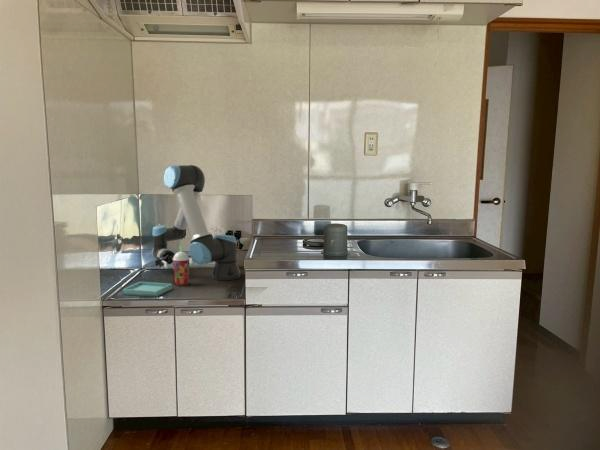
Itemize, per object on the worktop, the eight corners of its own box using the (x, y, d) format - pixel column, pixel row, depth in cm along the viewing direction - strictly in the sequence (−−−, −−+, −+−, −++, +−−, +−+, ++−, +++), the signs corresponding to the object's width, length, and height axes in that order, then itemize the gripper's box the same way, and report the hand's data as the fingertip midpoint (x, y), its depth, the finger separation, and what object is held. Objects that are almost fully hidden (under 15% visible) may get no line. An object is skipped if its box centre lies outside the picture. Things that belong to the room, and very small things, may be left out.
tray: (172, 288, 226) (171, 283, 226) (156, 296, 213) (156, 291, 212) (140, 286, 231) (140, 281, 231) (123, 294, 217) (122, 289, 217)
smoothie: (193, 282, 237) (191, 244, 234) (186, 287, 229) (184, 248, 226) (178, 282, 238) (176, 244, 235) (170, 286, 230) (169, 247, 227)
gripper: (188, 260, 257) (203, 267, 240) (143, 266, 243) (155, 274, 226) (187, 247, 256) (202, 253, 239) (142, 252, 242) (155, 259, 225)
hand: (179, 263), depth 233 cm, fingers open, 13 cm apart
